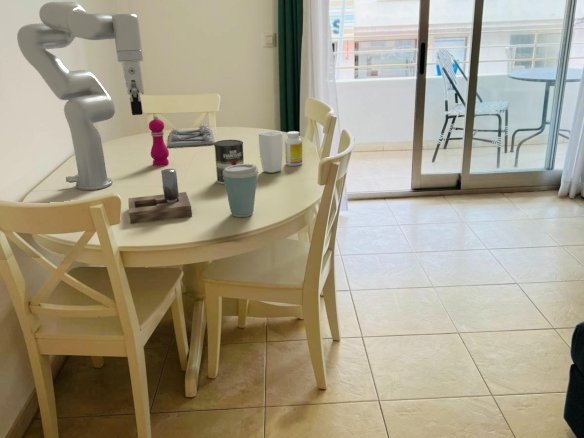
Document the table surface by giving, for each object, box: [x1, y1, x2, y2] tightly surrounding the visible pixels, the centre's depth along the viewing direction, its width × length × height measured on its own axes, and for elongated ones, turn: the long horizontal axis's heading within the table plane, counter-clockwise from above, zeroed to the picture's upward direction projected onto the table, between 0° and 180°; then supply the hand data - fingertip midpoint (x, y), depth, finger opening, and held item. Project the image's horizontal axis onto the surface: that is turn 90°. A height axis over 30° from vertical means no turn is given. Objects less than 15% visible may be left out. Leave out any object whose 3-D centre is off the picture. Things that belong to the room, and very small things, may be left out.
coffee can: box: [213, 139, 245, 185], centre depth 195 cm, size 10×10×14 cm
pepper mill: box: [148, 115, 170, 167], centre depth 217 cm, size 7×7×20 cm
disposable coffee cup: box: [222, 163, 260, 218], centre depth 161 cm, size 11×11×15 cm
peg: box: [161, 168, 180, 203], centre depth 166 cm, size 5×5×13 cm
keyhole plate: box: [128, 191, 193, 225], centre depth 166 cm, size 18×14×4 cm
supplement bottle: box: [284, 130, 303, 167], centre depth 214 cm, size 7×7×13 cm
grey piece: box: [167, 123, 216, 149], centre depth 262 cm, size 30×22×7 cm
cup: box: [258, 130, 284, 174], centre depth 204 cm, size 7×7×15 cm
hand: (137, 112), depth 172 cm, fingers open, 9 cm apart
